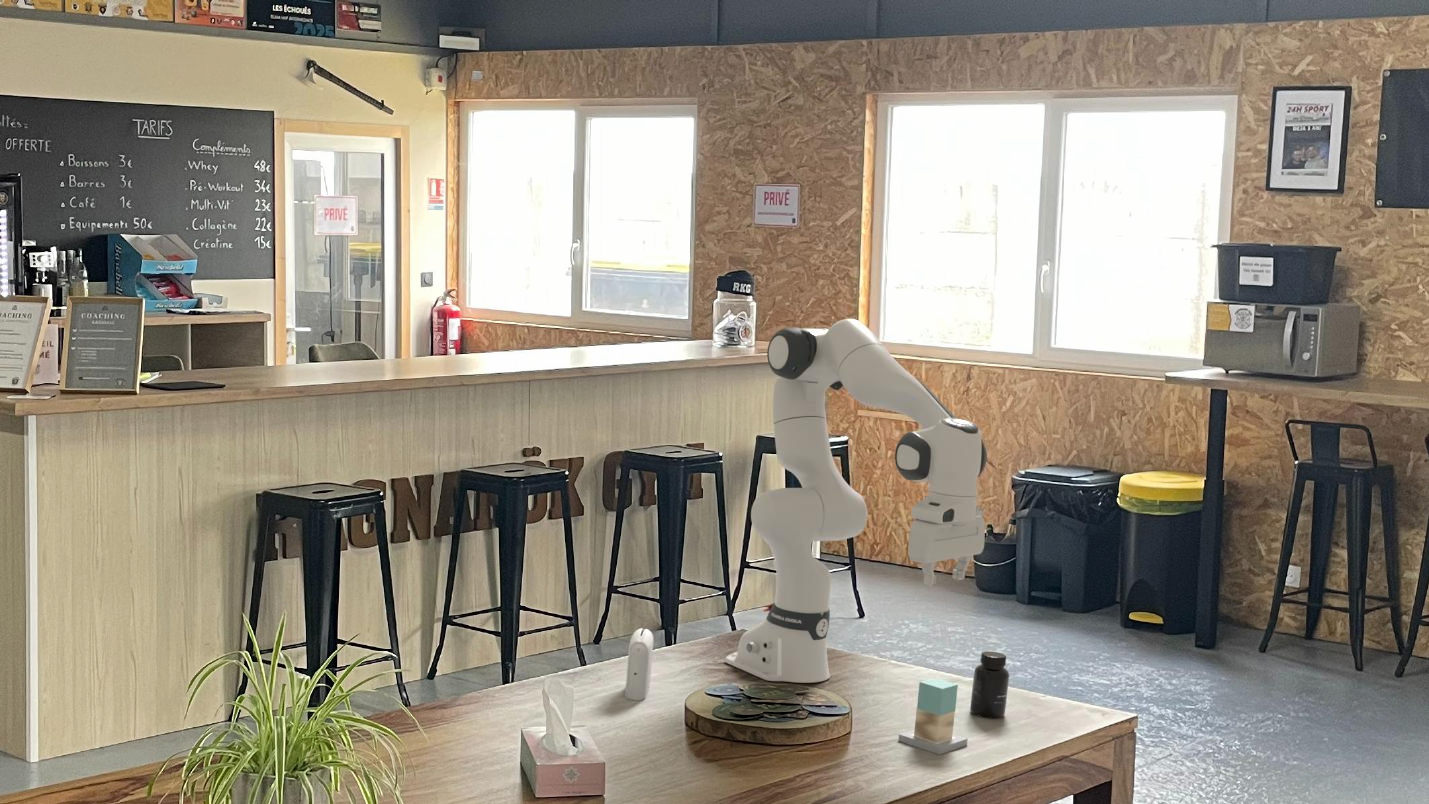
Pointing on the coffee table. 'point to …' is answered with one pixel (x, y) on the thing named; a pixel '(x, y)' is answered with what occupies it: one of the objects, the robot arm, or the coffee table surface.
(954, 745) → the plate
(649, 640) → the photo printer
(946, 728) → the maple cube
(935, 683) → the teal cube
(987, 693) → the supplement bottle
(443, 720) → the coffee table surface
